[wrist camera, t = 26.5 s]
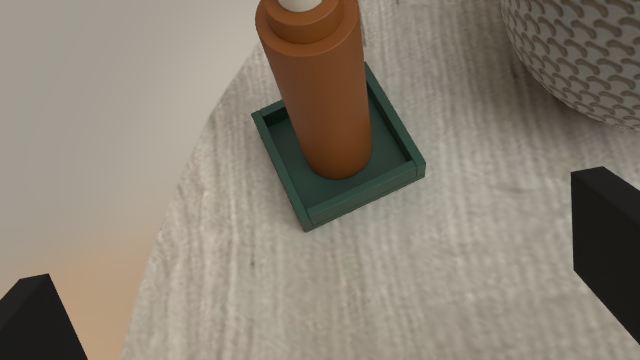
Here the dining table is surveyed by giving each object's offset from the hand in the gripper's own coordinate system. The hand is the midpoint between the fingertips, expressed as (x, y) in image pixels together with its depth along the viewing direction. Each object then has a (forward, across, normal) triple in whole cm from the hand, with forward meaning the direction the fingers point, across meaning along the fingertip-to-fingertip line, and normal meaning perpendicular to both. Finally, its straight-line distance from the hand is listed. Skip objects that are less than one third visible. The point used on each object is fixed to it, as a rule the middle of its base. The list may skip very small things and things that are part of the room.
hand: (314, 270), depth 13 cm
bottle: (+21, +1, -4) cm, 21 cm away
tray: (+21, +1, -4) cm, 22 cm away
